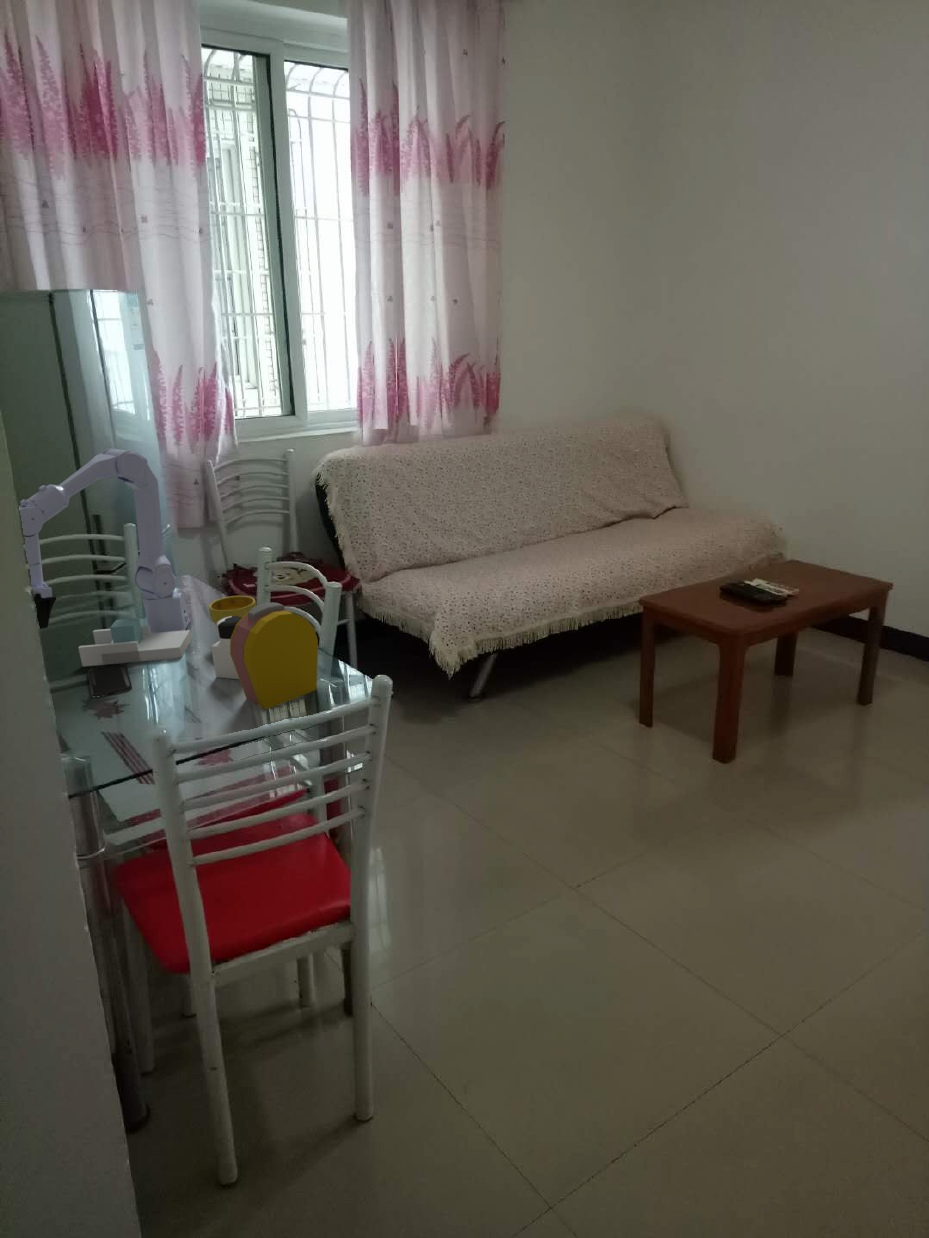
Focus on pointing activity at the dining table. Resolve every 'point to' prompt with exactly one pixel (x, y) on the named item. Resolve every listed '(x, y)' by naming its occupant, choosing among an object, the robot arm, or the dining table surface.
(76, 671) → the dining table surface
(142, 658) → the grey channel
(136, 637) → the teal block
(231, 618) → the medicine bottle
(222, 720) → the dining table surface
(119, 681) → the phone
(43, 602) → the robot arm
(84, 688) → the dining table surface
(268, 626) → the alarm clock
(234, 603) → the plant pot
